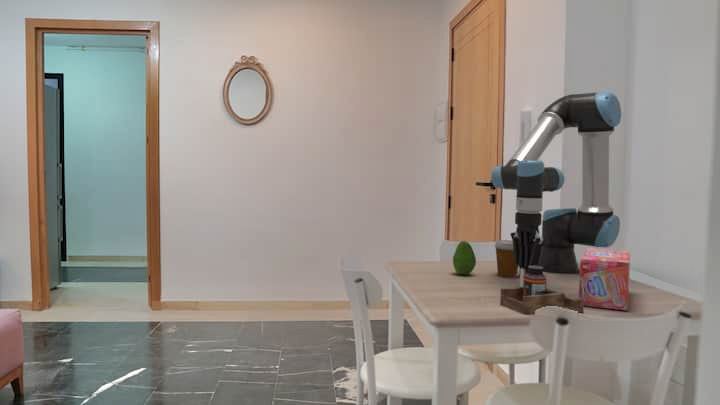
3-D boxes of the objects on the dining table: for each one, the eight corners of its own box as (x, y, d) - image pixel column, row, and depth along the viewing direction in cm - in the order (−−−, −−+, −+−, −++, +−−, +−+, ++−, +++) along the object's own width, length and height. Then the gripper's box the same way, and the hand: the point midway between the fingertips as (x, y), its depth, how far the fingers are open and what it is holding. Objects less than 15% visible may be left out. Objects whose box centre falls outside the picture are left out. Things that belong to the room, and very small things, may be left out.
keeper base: (548, 299, 159) (549, 284, 159) (586, 312, 146) (586, 295, 146) (500, 304, 153) (500, 288, 152) (534, 318, 140) (535, 300, 139)
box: (584, 287, 177) (586, 245, 176) (628, 292, 172) (630, 249, 171) (577, 306, 153) (579, 257, 152) (627, 313, 148) (630, 262, 147)
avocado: (450, 275, 190) (451, 241, 190) (455, 271, 198) (456, 238, 197) (473, 278, 187) (474, 243, 187) (477, 273, 195) (478, 240, 194)
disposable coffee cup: (522, 279, 187) (523, 244, 186) (493, 277, 189) (495, 243, 188) (519, 274, 196) (521, 240, 195) (492, 272, 198) (494, 239, 197)
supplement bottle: (519, 304, 154) (520, 264, 153) (539, 304, 154) (541, 264, 153) (527, 310, 148) (529, 268, 147) (548, 310, 148) (550, 268, 147)
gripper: (504, 210, 168) (501, 285, 170) (533, 214, 156) (529, 295, 158) (524, 209, 171) (520, 284, 173) (553, 213, 159) (549, 293, 161)
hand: (524, 289), depth 165 cm, fingers closed
